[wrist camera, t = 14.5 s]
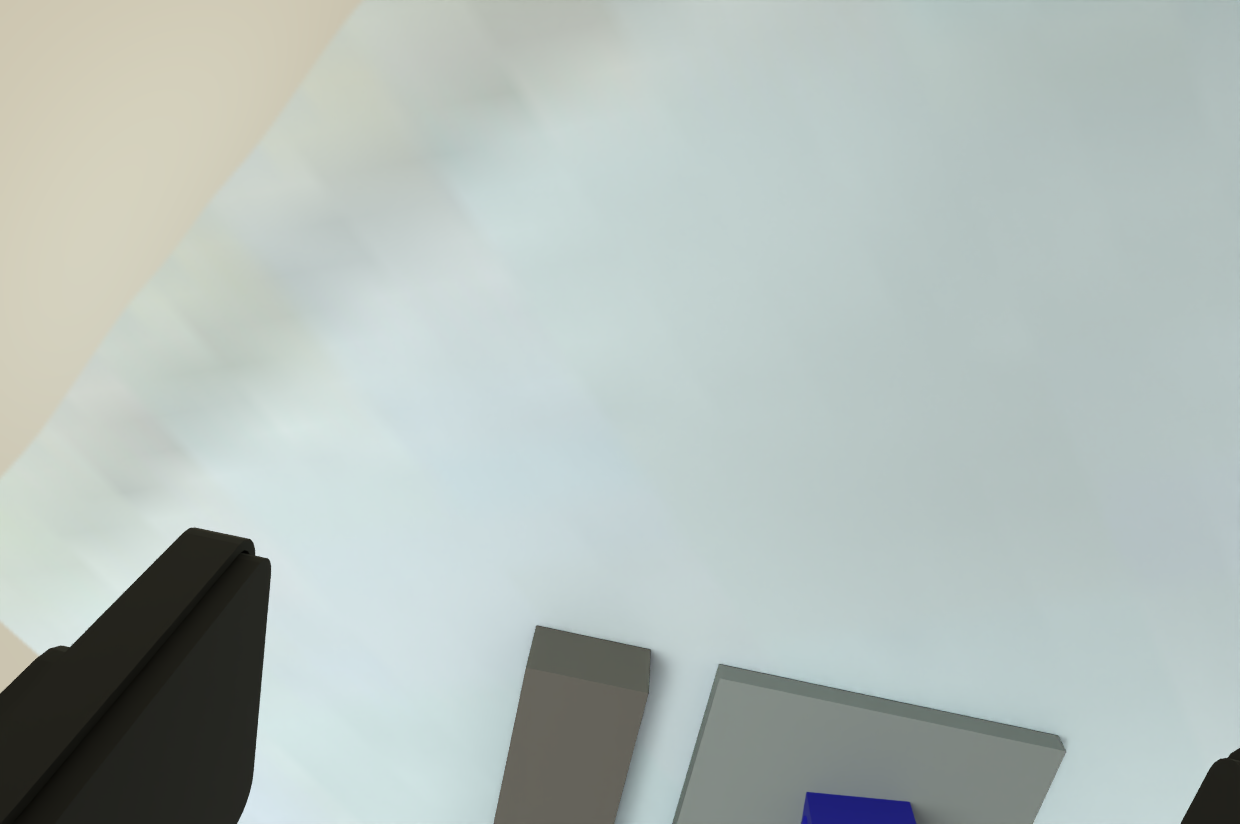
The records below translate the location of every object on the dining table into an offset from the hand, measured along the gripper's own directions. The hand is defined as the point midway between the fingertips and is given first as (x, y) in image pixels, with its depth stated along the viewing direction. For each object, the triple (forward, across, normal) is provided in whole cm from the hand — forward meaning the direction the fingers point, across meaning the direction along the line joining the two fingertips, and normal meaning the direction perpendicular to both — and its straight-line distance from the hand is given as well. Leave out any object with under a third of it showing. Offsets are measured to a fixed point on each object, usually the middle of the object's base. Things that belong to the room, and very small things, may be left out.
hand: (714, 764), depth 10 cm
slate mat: (+28, -13, +27) cm, 41 cm away
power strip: (+28, 0, +26) cm, 38 cm away
